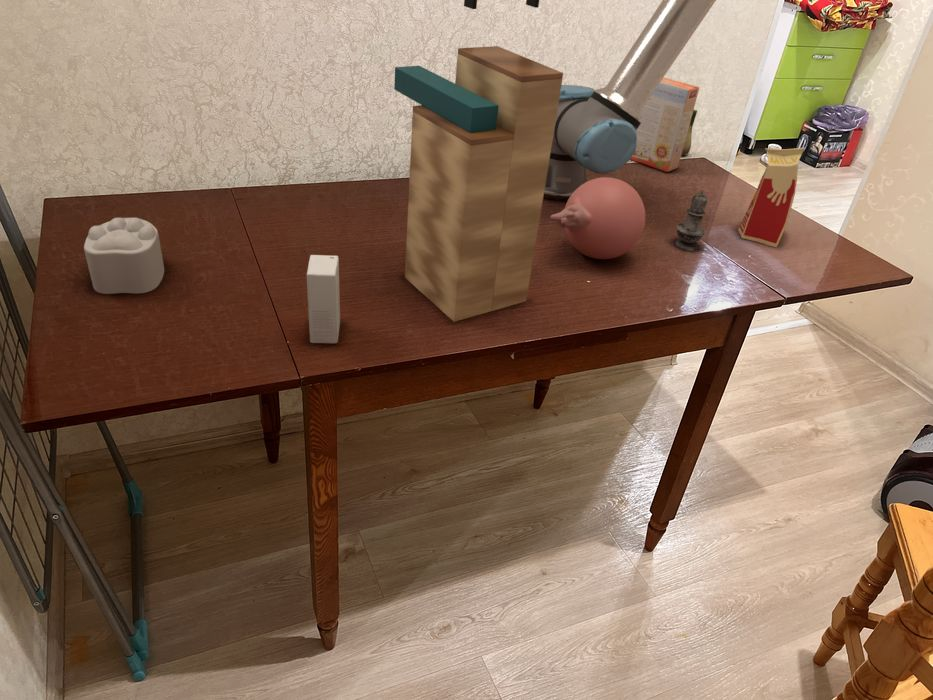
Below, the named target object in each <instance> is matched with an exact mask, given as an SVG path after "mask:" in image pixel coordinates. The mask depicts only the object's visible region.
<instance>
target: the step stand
mask: <svg viewBox="0 0 933 700" xmlns="http://www.w3.org/2000/svg"><path fill="white" fill-rule="evenodd" d="M456 56H457V57H456V69H455V82H454V83H455V84H457V85H459V86H461V87H463V88H465V89H467V90H469V91H471V92H473V93H475V94H477V95H479V96H481V97H483V98H485V99H487V100H489V101H491V102H493V103H495V104H497V105H499V107H498V115H497V124H496V130H489V131H481V132H473V133H470V132H468V131H466V130H465V129H463V128H461V127H459V126H458V125H456V124H454V123H452V122H451V121H449V120H447V119H445V118H444V117H442V116H440V115H438V114H436V113H435V112H433V111H431V110H429V109H428V108H426V107H424V106H422V105H421V104H418V105H413V106H412V114H411V115H412V117H411V118H412V119H411V139H410V157H409V158H410V159H409V160H410V162H409V180H408V181H409V182H408V201H407V204H408V205H407V222H406V225H407V226H406V244H405V248H406V249H405V265H404V267H405V268H404V278H405V279H406V280H407V281H408V282H409V283H410V284H411V285H412V286H413V287H415V288H416V289H417V290H418V291H419V292H420V293H421V294H422V295H424V296H425V297H426V298H427V299H428V300H429V301H430V302H431V303H432V304H434V306H436V308H438V309H439V310H440V311H441V312H442V313H444V314H445V315H446V316H447V317H448V318H449V319H450V320H451V321H452V322H454V323H456V322H458V321H461V320H465V319H470V318H472V317H475V316H480V315H483V314H486V313H490V312H494V311H497V310H501V309H505V308H508V307H511V306H513V305H514V306H515V305H518V304H521V303H525V302H527V299H528V293H529V289H530V288H529V287H530V281H531V275H532V270H533V269H532V268H533V264H534V263H533V262H534V256H535V250H536V244H537V238H538V232H539V225H540V220H541V214H542V208H543V200H544V198H543V195H544V189H545V183H546V177H547V171H548V165H549V158H550V152H551V146H552V140H553V134H554V128H555V122H556V115H557V109H558V103H559V97H560V91H561V85H563V77H564V73H563V72H562V71H559V70H557V69H555V68H552V67H549V66H547V65H544V64H542V63H540V62H538V61H535V60H532V59H531V58H528V57H525V56H522V55H520V54H518V53H515V52H513V51H510V50H508V49H505V48H503V47H500V46H498V45H495V46H494V45H493V46H491V45H490V46H476V47H474V46H473V47H459V48H457V55H456Z"/></svg>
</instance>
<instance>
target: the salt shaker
mask: <svg viewBox="0 0 933 700" xmlns="http://www.w3.org/2000/svg"><path fill="white" fill-rule="evenodd" d="M704 193H705V192H704V190H701V191H700V193H696V194H694V195H693V196H692V199H691V203H690V206H689V208H687V210H686V212H687V215H686V218H685V221H684V222H680V223H678V224H677V225H676V236H677V237H678V238H676V239H674V240H673V245H674V246H675V247H676V248H677V249H678V248H679V249H680V250H684V251H688V252H694V251H697V250H698V251H699V249H700V244H699V243H698V242H699V241H701V240H702V238H703V237H704V236H705V234H706V229H705V228H703V227H702V221H703V218H704V216H706V212H705V210H706V206H707V204H708V197H707V195H705V194H704Z"/></svg>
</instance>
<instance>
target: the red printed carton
mask: <svg viewBox="0 0 933 700" xmlns="http://www.w3.org/2000/svg"><path fill="white" fill-rule="evenodd" d="M805 149H806V147H797V148H787V149H786V148H785V149H782V148H766V147H765V151H766V153H767V166H766V167H765V170H764V172H763V174H762V176H761V178H760V180H759V182H758V183H759V184H758V186H757V188H756V191H755V193H754V195H753V197H752V199H751V201H750V203H749V205H748V208H747V209H746V212H745V214H744V216H743V217H742V220H741V222H740V225H739V227H738V229H737V231H738V233H739V235H740V237H741V239H744V240H748V241H753V242H756V243H761V244H764V245H766V246H769V247H770V246H771V247H774V248H775V249H777V248H778V246H779V243H780V241H781V240H782V236H783V234H784V232H785V230H786V228H787V225H788V222H789V218H790V215H791V211H792V207H793V204H794V199H795V196H796V190H797V189H796V187H797V181H798V173H799V163H800V162H799V161H800V159H801V157H802V155H803V152H804V151H805Z"/></svg>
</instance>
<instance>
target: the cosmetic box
mask: <svg viewBox="0 0 933 700" xmlns="http://www.w3.org/2000/svg"><path fill="white" fill-rule="evenodd" d="M339 261H340V260H339V256H338V255H326V254H325V255H324V254H310V255H309V260H308V265H307V270H306V285H307V286H306V291H307V308H308V309H307V310H308V329H309V331H308V332H309V342H310V343H311V344H338V342H339V333H340V326H341V304H340V303H341V301H340V263H339Z"/></svg>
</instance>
